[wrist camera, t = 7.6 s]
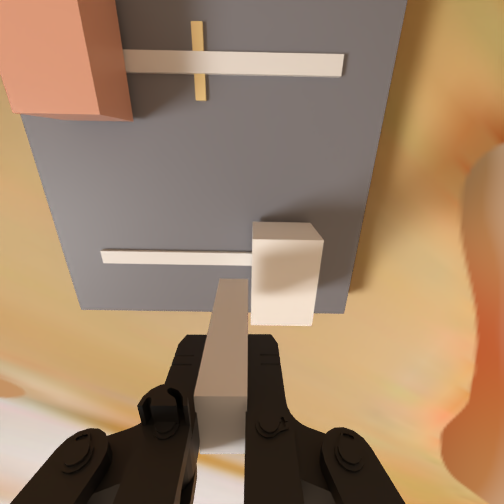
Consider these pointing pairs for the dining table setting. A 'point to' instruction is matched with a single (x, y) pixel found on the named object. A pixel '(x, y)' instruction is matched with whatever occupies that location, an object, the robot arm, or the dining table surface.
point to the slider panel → (221, 147)
